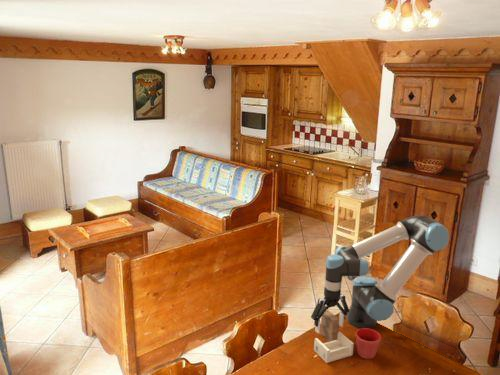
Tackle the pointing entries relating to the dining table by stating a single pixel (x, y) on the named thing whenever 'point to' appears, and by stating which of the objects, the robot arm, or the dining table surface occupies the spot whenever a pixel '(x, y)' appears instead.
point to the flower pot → (367, 342)
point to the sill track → (334, 348)
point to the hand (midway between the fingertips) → (329, 328)
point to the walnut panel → (329, 326)
